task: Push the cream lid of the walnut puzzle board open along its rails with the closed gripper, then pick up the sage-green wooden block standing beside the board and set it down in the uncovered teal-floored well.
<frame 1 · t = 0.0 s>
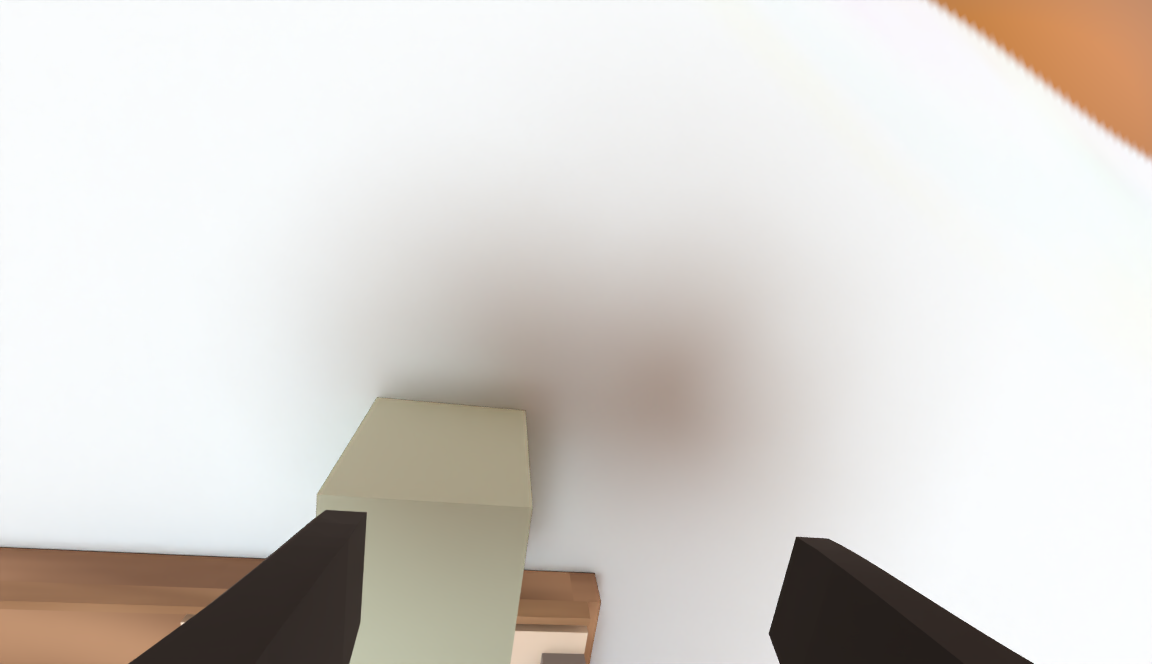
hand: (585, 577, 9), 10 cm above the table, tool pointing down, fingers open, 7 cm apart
sage block: (446, 468, 19), on the table
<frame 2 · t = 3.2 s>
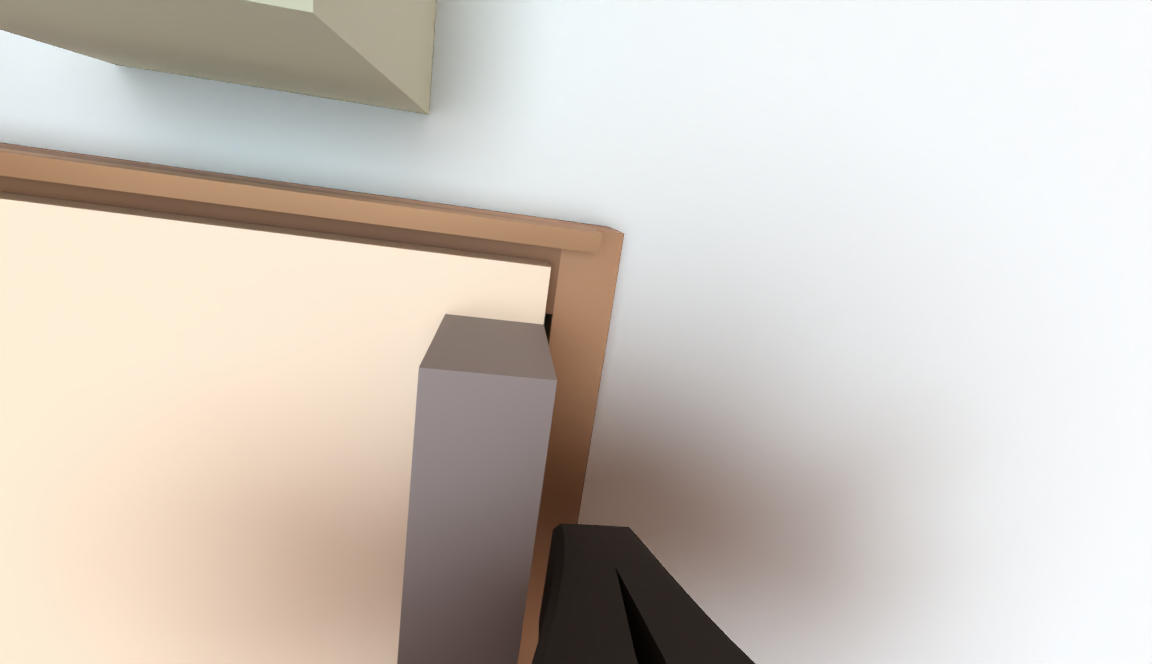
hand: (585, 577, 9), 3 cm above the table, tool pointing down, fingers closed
lid: (49, 566, 8), point 3 cm above the table, slide at 0.7 cm, touching gripper
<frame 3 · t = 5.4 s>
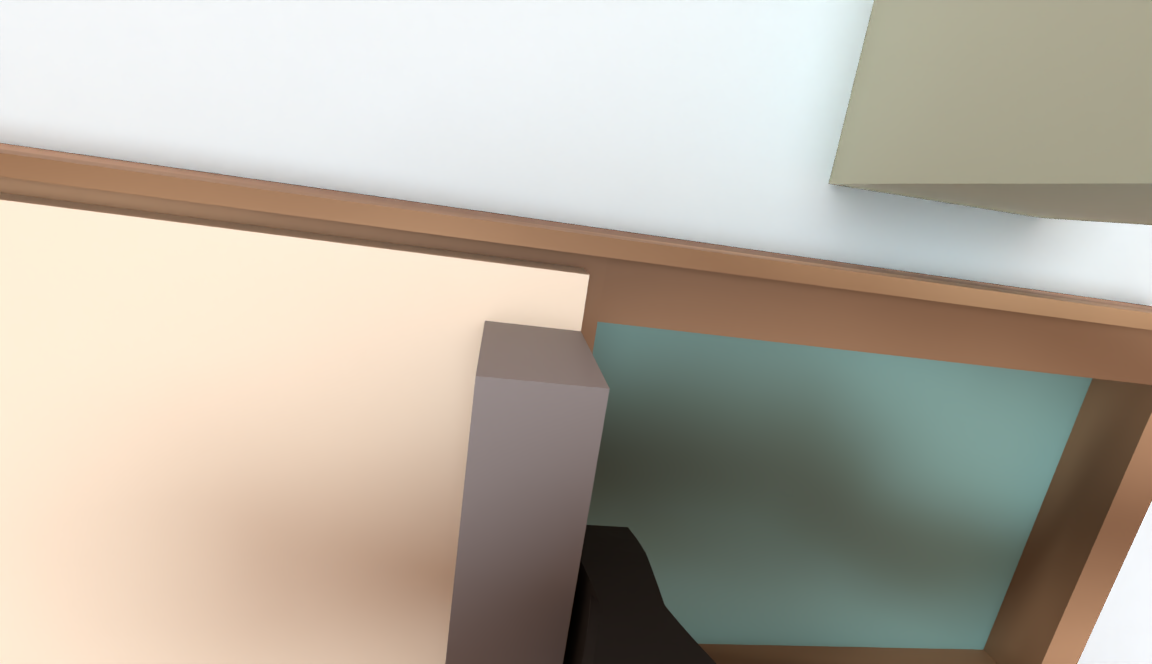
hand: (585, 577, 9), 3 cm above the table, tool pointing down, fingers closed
sage block: (975, 71, 11), on the table
lid: (95, 569, 8), point 3 cm above the table, slide at 12.9 cm, touching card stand, gripper
board: (535, 480, 12), on the table
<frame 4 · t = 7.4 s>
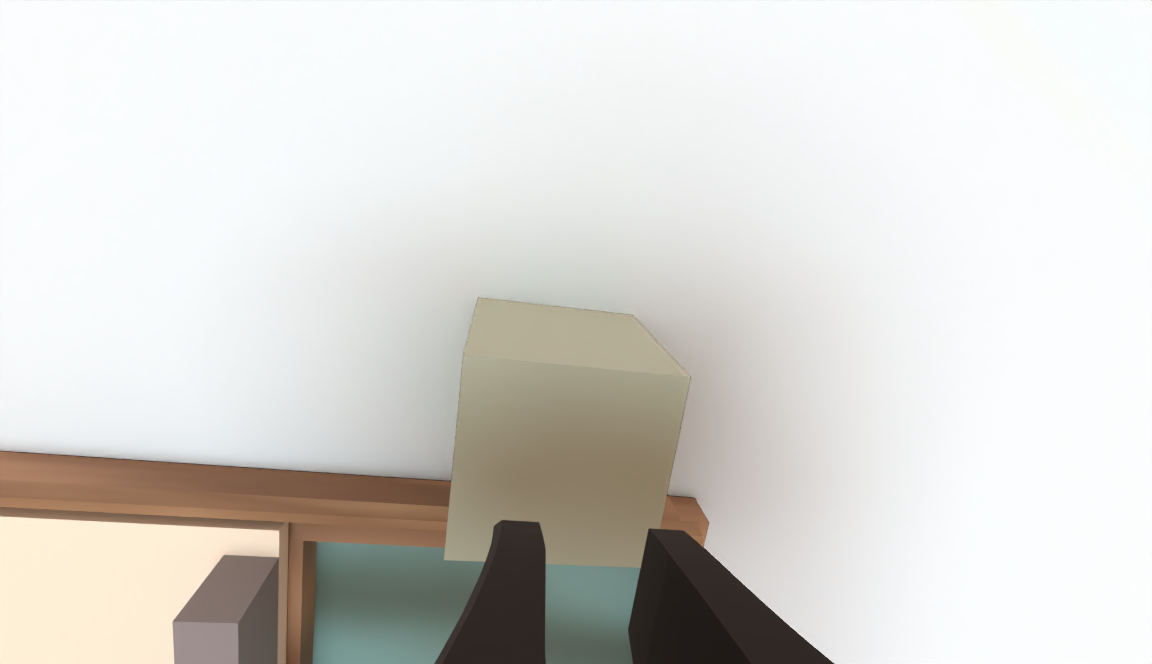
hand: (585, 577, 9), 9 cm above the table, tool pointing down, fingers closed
sage block: (546, 378, 18), on the table
board: (301, 611, 19), on the table
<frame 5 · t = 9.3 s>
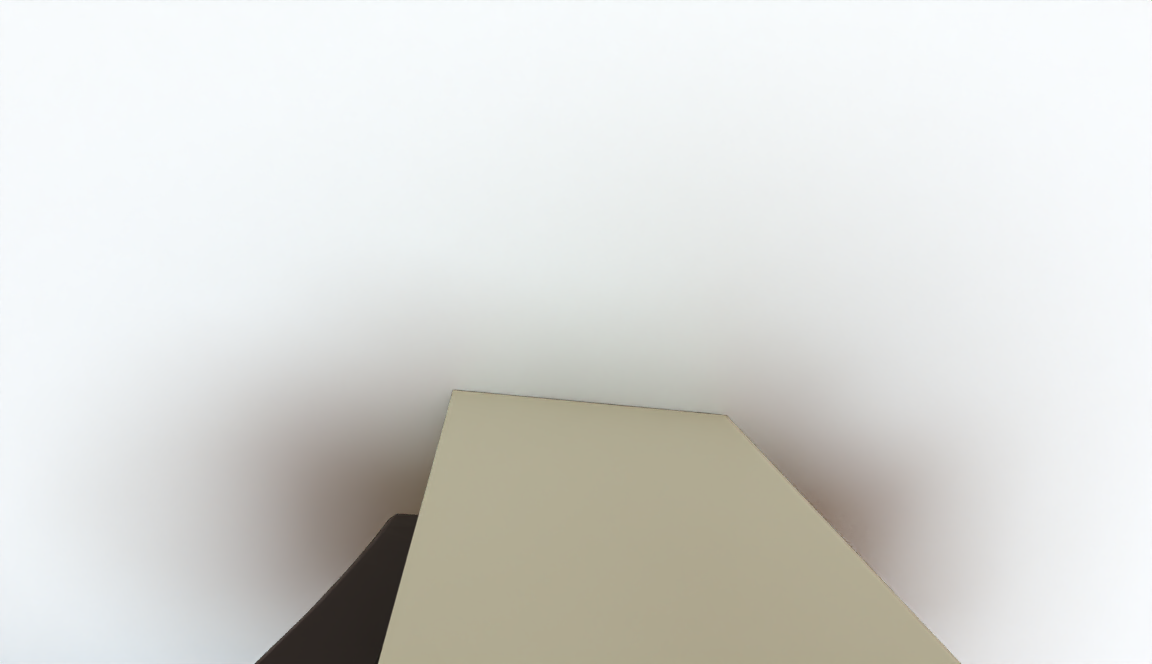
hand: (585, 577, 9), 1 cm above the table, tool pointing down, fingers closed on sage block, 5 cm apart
sage block: (574, 525, 10), on the table, touching gripper
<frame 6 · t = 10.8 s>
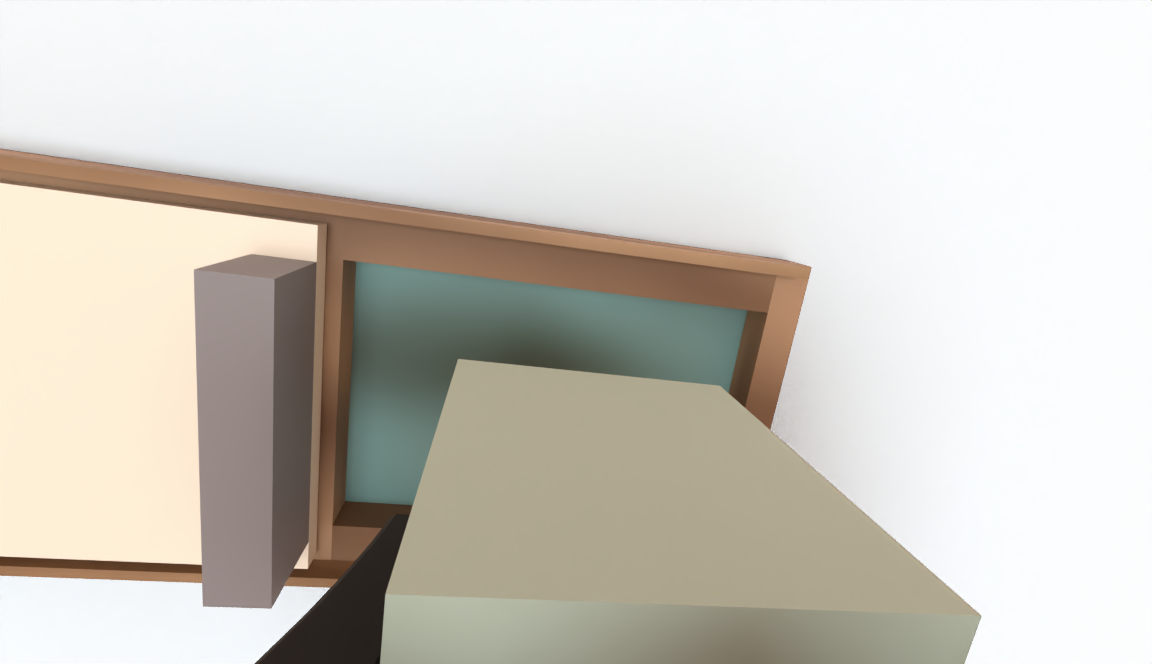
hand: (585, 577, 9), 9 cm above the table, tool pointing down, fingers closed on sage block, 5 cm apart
sage block: (574, 493, 11), point 7 cm above the table, touching gripper
lid: (0, 402, 12), point 3 cm above the table, slide at 12.9 cm, touching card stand
board: (335, 380, 16), on the table
when the fingers open (3 cm above the table, at t = 12.3 s): sage block stays where it is, resting on board.
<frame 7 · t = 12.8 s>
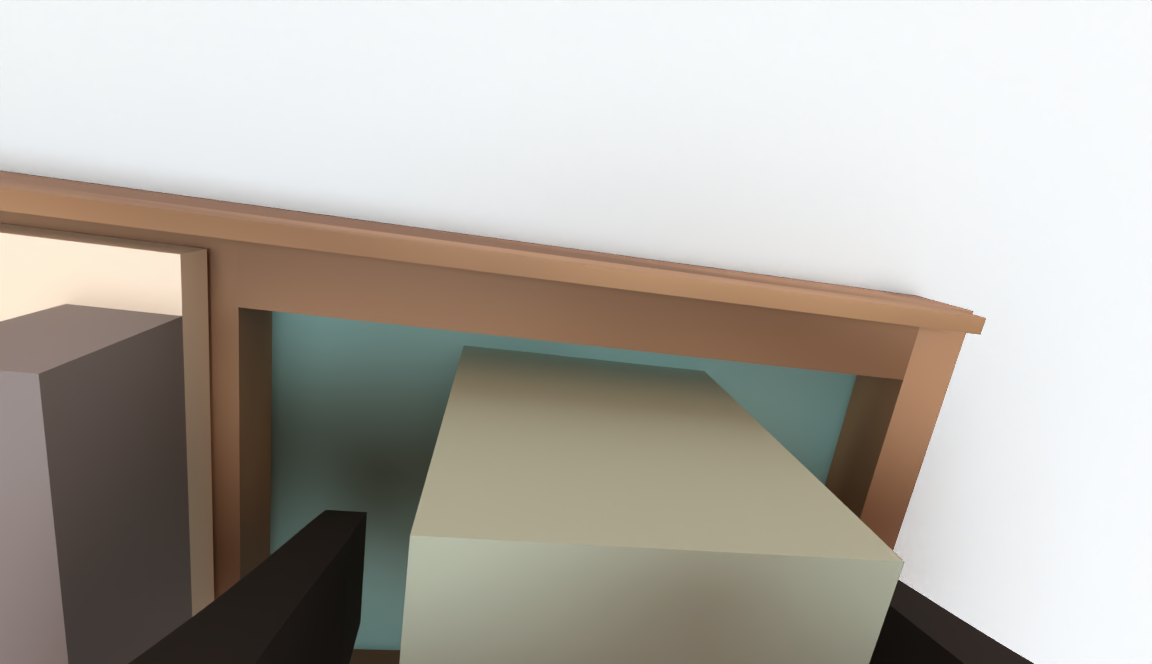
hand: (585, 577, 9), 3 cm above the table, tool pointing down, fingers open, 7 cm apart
sage block: (570, 468, 12), resting on board
board: (248, 478, 11), on the table
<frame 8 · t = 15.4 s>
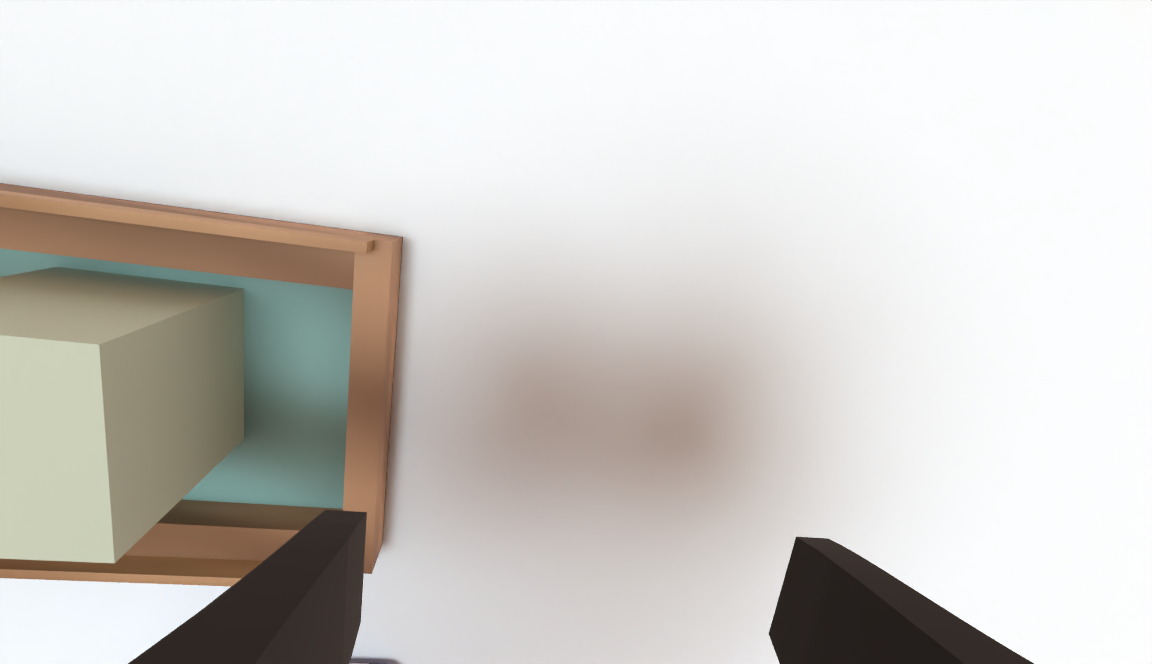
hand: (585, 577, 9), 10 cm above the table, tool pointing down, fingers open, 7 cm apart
sage block: (156, 358, 17), resting on board
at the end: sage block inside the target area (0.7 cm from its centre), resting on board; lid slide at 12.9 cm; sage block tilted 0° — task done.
